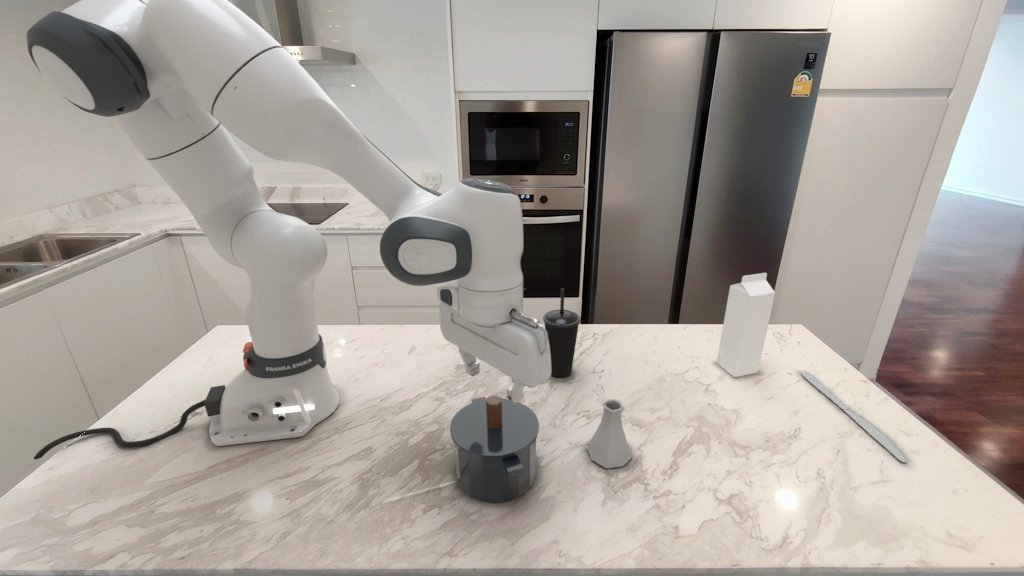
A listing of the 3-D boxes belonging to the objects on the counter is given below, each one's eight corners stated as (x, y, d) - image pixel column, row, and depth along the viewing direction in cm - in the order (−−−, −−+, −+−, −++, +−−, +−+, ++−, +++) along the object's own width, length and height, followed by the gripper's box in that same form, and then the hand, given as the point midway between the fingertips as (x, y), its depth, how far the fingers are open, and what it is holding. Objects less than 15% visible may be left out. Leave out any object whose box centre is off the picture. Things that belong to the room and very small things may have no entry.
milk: (757, 373, 103) (779, 278, 94) (734, 377, 102) (754, 281, 93) (738, 359, 108) (757, 267, 100) (715, 363, 107) (732, 270, 98)
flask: (605, 475, 76) (609, 424, 72) (578, 447, 82) (581, 399, 78) (640, 460, 79) (645, 410, 76) (612, 434, 85) (616, 387, 81)
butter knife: (812, 370, 103) (798, 370, 102) (915, 462, 78) (898, 462, 78) (811, 372, 103) (797, 372, 103) (914, 464, 78) (897, 464, 78)
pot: (474, 527, 67) (472, 478, 64) (445, 445, 83) (441, 402, 80) (556, 501, 72) (557, 454, 68) (513, 428, 87) (512, 386, 84)
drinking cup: (576, 386, 99) (580, 297, 92) (539, 382, 101) (540, 295, 93) (579, 366, 106) (583, 283, 98) (544, 363, 108) (546, 280, 100)
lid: (485, 477, 65) (484, 443, 63) (433, 427, 75) (430, 396, 73) (557, 434, 73) (558, 403, 71) (502, 394, 83) (501, 365, 80)
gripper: (564, 316, 61) (560, 407, 66) (463, 275, 74) (466, 353, 80) (528, 332, 57) (527, 428, 62) (429, 285, 70) (435, 367, 75)
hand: (492, 385), depth 71 cm, fingers open, 8 cm apart
